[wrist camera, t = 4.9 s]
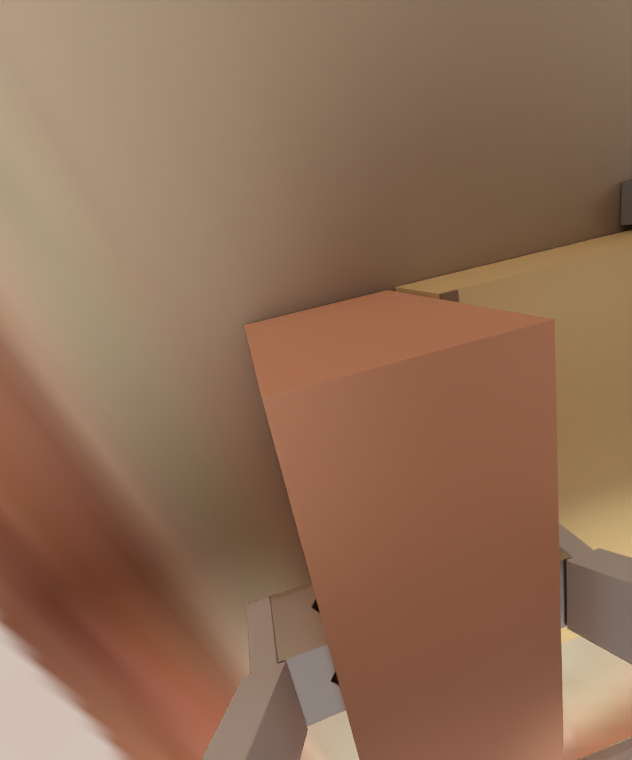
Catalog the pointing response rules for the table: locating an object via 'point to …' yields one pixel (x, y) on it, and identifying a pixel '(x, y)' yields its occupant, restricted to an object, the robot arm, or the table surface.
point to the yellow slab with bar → (576, 367)
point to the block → (426, 516)
